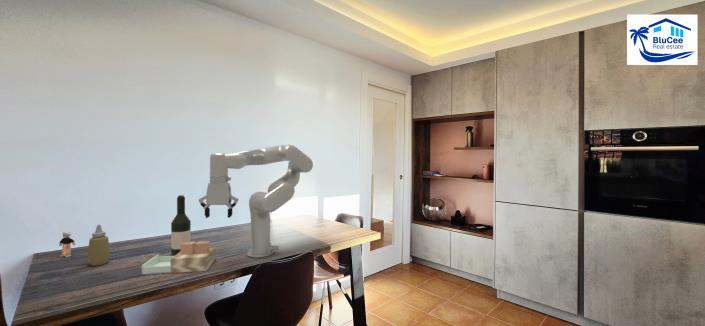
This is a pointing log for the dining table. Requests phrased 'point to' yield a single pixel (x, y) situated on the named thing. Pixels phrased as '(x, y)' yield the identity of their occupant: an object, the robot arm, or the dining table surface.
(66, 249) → the grandmother figurine
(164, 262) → the tray
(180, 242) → the wine bottle
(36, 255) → the dining table surface
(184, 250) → the block
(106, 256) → the squeeze bottle
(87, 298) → the dining table surface
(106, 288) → the dining table surface
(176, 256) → the plate
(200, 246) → the block
